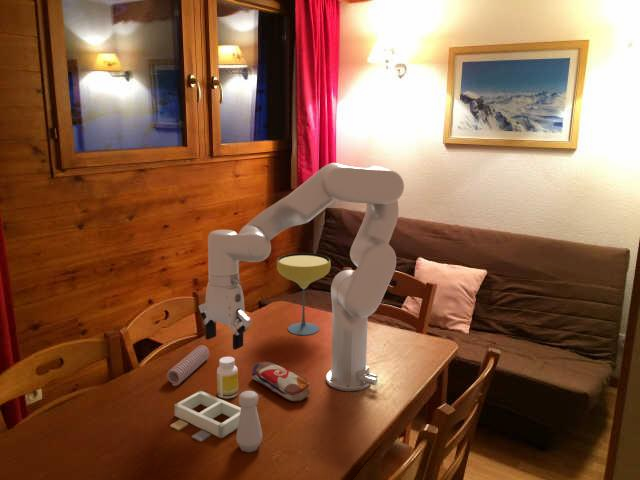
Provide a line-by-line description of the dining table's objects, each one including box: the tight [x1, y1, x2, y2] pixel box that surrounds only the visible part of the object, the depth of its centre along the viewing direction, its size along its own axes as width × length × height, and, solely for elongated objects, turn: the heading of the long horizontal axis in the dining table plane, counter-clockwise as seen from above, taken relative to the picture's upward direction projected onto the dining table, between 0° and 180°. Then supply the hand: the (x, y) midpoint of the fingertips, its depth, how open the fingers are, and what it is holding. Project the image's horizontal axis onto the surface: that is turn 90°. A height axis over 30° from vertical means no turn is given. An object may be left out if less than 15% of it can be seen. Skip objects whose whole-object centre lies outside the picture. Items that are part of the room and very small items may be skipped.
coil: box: [166, 344, 210, 387], centre depth 152 cm, size 5×5×18 cm
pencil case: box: [251, 361, 311, 402], centre depth 143 cm, size 11×20×5 cm, turn 28°
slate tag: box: [191, 429, 212, 443], centre depth 121 cm, size 3×3×1 cm
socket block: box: [173, 390, 241, 439], centre depth 128 cm, size 16×8×3 cm, turn 55°
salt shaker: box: [235, 390, 263, 453], centre depth 116 cm, size 6×6×13 cm
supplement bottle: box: [216, 356, 239, 399], centre depth 139 cm, size 5×5×10 cm
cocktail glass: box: [276, 252, 332, 336], centre depth 180 cm, size 18×18×25 cm
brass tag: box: [169, 419, 189, 432], centre depth 125 cm, size 3×3×1 cm
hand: (224, 342), depth 137 cm, fingers open, 9 cm apart
